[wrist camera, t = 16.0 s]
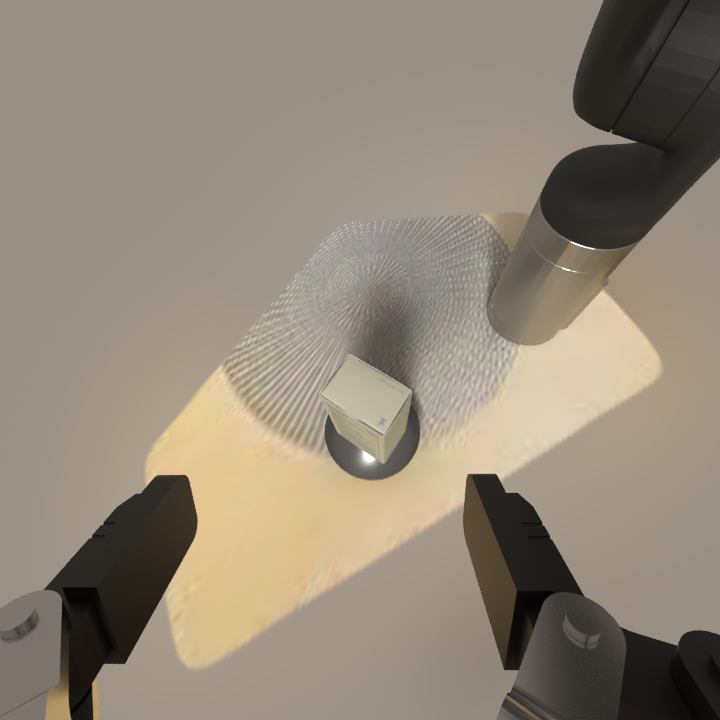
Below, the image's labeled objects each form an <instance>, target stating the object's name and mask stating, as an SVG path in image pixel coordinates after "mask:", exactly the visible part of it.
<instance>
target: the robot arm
mask: <svg viewBox="0 0 720 720" xmlns="http://www.w3.org/2000/svg"><path fill="white" fill-rule="evenodd" d="M573 103H574V109H575V112H576V114H577V115H578V116H579V117H580V118H581V119H583V120H584V121H586V122H587V123H589V124H590V125H592V126H594V127H596V128H598V129H601V130H603V131H606V132H610V131H611V129H612V130H613V131H612V134H615V135H618V136H621V137H624V138H627V139H630V140H633V141H636V142H637V143H630V144H615V145H598V146H591V147H587V148H583V149H580V150H578V151H575V152H573V153H571V154H569V155H568V156H566V157H565V158H564V159H562V160H561V161H560V162H559V163H558V164H557V165H556V166H555V168H554V169H553V171H552V172H551V174H550V176H549V178H548V180H547V182H546V184H545V186H544V188H543V190H542V192H541V194H540V196H539V198H538V201H537V203H536V204H535V207H534V209H533V211H532V213H531V215H530V217H529V219H528V221H527V223H526V225H525V227H524V229H523V231H522V233H521V236H520V238H519V240H518V242H517V244H516V246H515V248H514V250H513V252H512V254H511V256H510V258H509V260H508V262H507V264H506V266H505V268H504V270H503V273H502V275H501V277H500V279H499V281H498V283H497V285H496V287H495V289H494V291H493V293H492V295H491V297H490V299H489V302H488V305H487V314H488V318H489V321H490V323H491V325H492V326H493V327H494V329H495V330H496V331H497V332H498V333H499V334H500V335H501V336H503V337H504V338H506V339H508V340H509V341H512V342H515V343H517V344H522V345H537V344H542V343H544V342H546V341H548V340H550V339H551V338H553V337H554V336H555V335H556V334H557V332H558V331H559V330H561V329H564V328H567V327H568V326H569V325H570V324H571V323H572V322H573V321H574V320H575V319H576V317H577V316H578V315H579V314H580V313H581V312H582V311H583V310H584V309H585V308H586V307H587V306H588V305H589V303H590V302H591V301H592V300H593V299H594V298H595V297H596V296H597V295H598V294H599V293H600V292H601V291H602V289H603V288H604V287H605V286H606V285H607V284H608V276H609V275H610V274H611V273H612V272H613V271H614V270H615V269H616V267H617V266H618V265H619V264H620V263H621V262H622V261H623V260H624V258H625V257H626V256H627V255H628V254H629V253H630V252H631V251H632V249H633V248H634V247H635V246H636V245H637V244H638V243H639V242H640V241H641V240H642V238H643V237H644V236H645V235H646V234H647V233H648V232H649V231H650V230H651V229H652V227H653V226H654V225H655V224H656V223H657V222H658V221H659V220H660V219H661V218H662V217H663V216H664V215H665V214H666V213H667V212H668V211H669V210H670V209H671V208H672V207H673V206H674V204H676V202H677V201H678V200H679V199H680V198H681V197H682V196H683V195H684V194H685V193H686V192H687V190H689V189H690V187H692V186H693V184H694V183H695V182H696V181H697V180H698V179H699V178H700V177H701V176H702V175H703V174H704V173H705V172H706V171H707V170H708V169H709V168H710V167H711V166H712V165H713V164H714V163H715V162H716V161H717V160H718V159H719V158H720V0H604V1H603V4H602V6H601V8H600V11H599V13H598V16H597V18H596V21H595V23H594V26H593V28H592V31H591V34H590V36H589V39H588V42H587V44H586V47H585V50H584V52H583V55H582V58H581V61H580V64H579V67H578V71H577V74H576V79H575V84H574V89H573ZM197 522H198V520H197V514H196V509H195V505H194V500H193V496H192V491H191V487H190V482H189V479H188V477H187V476H186V475H158V476H156V477H155V478H154V479H153V480H152V481H151V482H150V483H149V484H148V486H147V487H146V488H145V489H144V490H143V492H142V493H141V494H135V495H134V496H132V497H131V498H129V499H128V500H127V501H125V502H124V503H122V504H121V505H119V506H118V507H117V508H116V509H115V510H114V511H113V512H112V513H111V515H110V516H109V517H108V518H107V519H106V520H105V521H104V524H103V525H101V526H100V527H99V528H98V529H97V530H96V532H95V533H94V534H93V535H92V538H91V539H89V540H88V541H87V542H86V543H85V544H84V545H83V546H82V547H81V548H80V550H79V551H78V552H77V553H76V554H75V555H74V556H73V557H72V559H71V560H70V561H69V562H68V563H67V564H66V566H65V567H64V568H63V569H62V570H61V571H60V572H59V573H58V574H57V576H56V577H55V578H54V579H53V580H52V581H51V582H50V583H49V585H48V586H47V587H46V588H45V589H44V590H41V591H36V592H32V593H29V594H26V595H24V596H21V597H19V598H17V599H15V600H13V601H11V602H10V603H8V604H7V605H5V606H3V607H2V608H0V720H99V704H98V703H99V701H98V687H97V682H96V679H95V678H96V676H97V674H98V673H99V671H100V669H101V668H102V666H103V664H125V663H126V661H127V659H128V657H129V655H130V654H131V652H132V650H133V648H134V646H135V645H136V643H137V641H138V639H139V637H140V636H141V634H142V632H143V630H144V628H145V627H146V625H147V623H148V621H149V619H150V618H151V616H152V614H153V612H154V610H155V609H156V607H157V605H158V603H159V601H160V600H161V598H162V596H163V594H164V592H165V591H166V589H167V587H168V585H169V583H170V582H171V580H172V578H173V576H174V574H175V573H176V571H177V569H178V567H179V565H180V564H181V562H182V560H183V558H184V556H185V555H186V553H187V551H188V549H189V547H190V546H191V544H192V542H193V540H194V538H195V535H196V531H197ZM463 527H464V535H465V540H466V544H467V547H468V550H469V553H470V557H471V560H472V563H473V567H474V570H475V574H476V577H477V580H478V583H479V587H480V591H481V594H482V597H483V601H484V604H485V607H486V611H487V614H488V617H489V621H490V624H491V627H492V630H493V634H494V637H495V641H496V644H497V648H498V651H499V654H500V658H501V661H502V664H503V668H504V670H519V672H518V674H517V678H516V680H515V683H514V686H513V688H512V690H511V693H508V694H507V695H506V697H505V699H504V702H503V704H502V706H501V709H500V712H499V714H498V717H497V720H720V635H718V634H715V633H711V632H708V631H701V630H699V631H690V632H687V633H685V634H684V635H683V636H682V637H681V639H680V641H679V643H678V646H676V645H673V644H669V643H666V642H663V641H660V640H656V639H653V638H650V637H646V636H643V635H640V634H637V633H634V632H631V631H628V630H626V629H624V628H622V627H620V626H619V625H618V623H617V622H616V621H615V619H614V618H613V617H612V616H611V615H610V614H609V613H608V612H607V611H606V610H605V609H604V608H602V607H601V606H600V605H598V604H597V603H595V602H594V601H592V600H590V599H588V598H586V597H585V596H584V595H583V593H582V592H581V590H580V588H579V586H578V585H577V583H576V581H575V579H574V578H573V576H572V574H571V572H570V570H569V569H568V567H567V565H566V563H565V562H564V560H563V558H562V556H561V555H560V553H559V551H558V549H557V548H556V546H555V544H554V542H553V541H552V540H551V539H550V535H549V534H548V532H547V530H546V528H545V527H544V526H543V525H542V521H541V520H540V518H539V516H538V514H537V513H536V511H535V509H534V507H533V506H532V505H531V504H530V503H528V502H527V501H526V500H525V499H524V498H523V497H521V495H519V494H518V493H506V492H505V490H504V488H503V486H502V484H501V482H500V480H499V478H498V476H497V475H496V474H468V476H467V480H466V491H465V502H464V514H463Z"/></svg>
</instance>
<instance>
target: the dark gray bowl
mask: <svg viewBox="0 0 720 720" xmlns="http://www.w3.org/2000/svg"><path fill="white" fill-rule="evenodd" d="M419 438H420V427H419V421H418V418H417V415H416V413H415V411H414V409H413V408H412V406H411V405H410V410H409V415H408V420H407V426H406V431H405V433H404V435H403V436H402V438H401V440H400V441H399V443H398V444H397V446H396V448H395V449H394V451H393V452H392V454H391V455H390V457H389V458H388V460H387V461H386V463H385V464H382V463H381V462H379V461H378V460H376V459H375V458H373V457H372V456H370V455H369V454H367V453H366V452H364V451H363V450H361V449H360V448H358V447H357V446H356V445H354V444H353V443H351V442H350V441H348V440H347V439H346V438H344V437H343V436H341V435H340V434H339V433H338V432H337V430H336V428H335V426H334V424H333V422H332V420H331V418H330V416H329V414H328V417H327V420H326V425H325V439H326V444H327V447H328V450H329V452H330V454H331V456H332V458H333V459H334V461H335V462H336V463H337V465H338V466H339V467H340V468H341V469H343V470H344V471H345V472H347V473H348V474H350V475H352V476H354V477H356V478H359V479H363V480H382V479H386V478H389V477H391V476H394V475H395V474H397V473H399V472H400V471H401V470H403V469H404V468H405V467H406V466H407V465H408V464H409V462H410V461H411V459H412V458H413V456H414V454H415V452H416V450H417V447H418V443H419Z"/></svg>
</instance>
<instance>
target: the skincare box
mask: <svg viewBox="0 0 720 720" xmlns="http://www.w3.org/2000/svg"><path fill="white" fill-rule="evenodd" d="M319 395H320V398H321V399H322V402H323V404H324V406H325V408H326V410H327V412H328V414H329V416H330V418H331V420H332V422H333V424H334V426H335V428H336V430H337V432H338V433H339V434H340V435H341V436H343V437H344V438H346V439H347V440H348V441H350V442H351V443H353V444H354V445H356V446H357V447H358V448H360V449H361V450H363V451H364V452H366V453H367V454H369V455H370V456H372V457H373V458H375V459H376V460H378V461H379V462H381V463H382V464H385V463H386V461H387V460H388V458H389V457H390V455H391V454H392V452H393V451H394V449H395V448H396V446H397V444H398V443H399V441H400V440H401V438H402V436H403V435H404V433H405V431H406V426H407V420H408V415H409V410H410V405H411V399H412V390H410V389H409V388H407V387H406V386H404V385H403V384H401V383H399V382H398V381H396V380H395V379H393V378H391V377H390V376H388V375H386V374H385V373H383V372H381V371H379V370H378V369H376V368H374V367H373V366H371V365H369V364H367V363H366V362H364V361H362V360H360V359H358V358H357V357H355V356H353V355H351V354H349V355H348V356H347V357H346V359H345V360H344V361H343V362H342V364H341V365H340V366H339V367H338V369H337V370H336V371H335V372H334V374H333V375H332V376H331V377H330V379H329V380H328V381H327V383H326V384H325V385H324V387H323V388H322V389H321V391H320V392H319Z"/></svg>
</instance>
